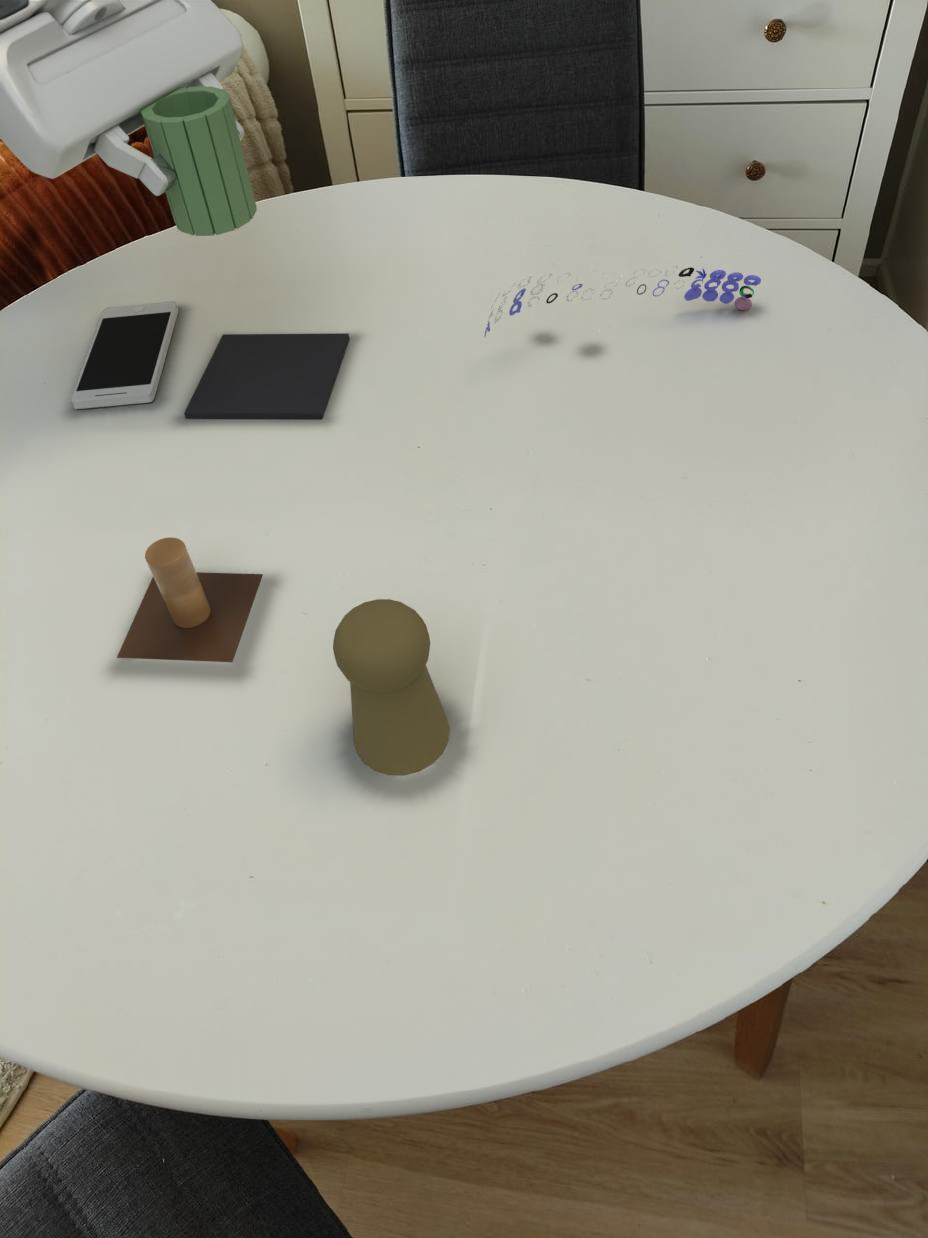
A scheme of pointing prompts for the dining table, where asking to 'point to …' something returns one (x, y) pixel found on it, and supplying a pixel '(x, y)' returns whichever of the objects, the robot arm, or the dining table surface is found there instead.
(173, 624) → the peg stand
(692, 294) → the ring set
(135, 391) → the smartphone
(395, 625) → the olive brown pawn
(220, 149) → the green tube
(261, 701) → the dining table surface
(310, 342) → the mat
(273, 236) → the dining table surface
